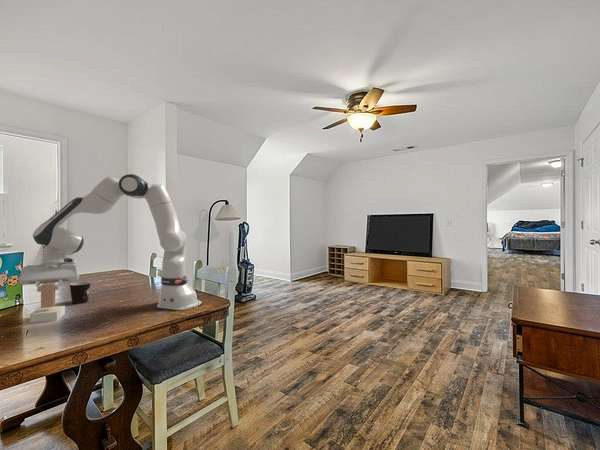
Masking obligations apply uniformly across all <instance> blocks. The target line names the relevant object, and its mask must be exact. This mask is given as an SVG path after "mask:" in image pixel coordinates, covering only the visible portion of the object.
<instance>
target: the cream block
mask: <svg viewBox="0 0 600 450" xmlns="http://www.w3.org/2000/svg"><path fill="white" fill-rule="evenodd" d="M65 314H66V305H60V306H59V305H55V306H54V307H49V308H41V307H39V308H37V309H36V310H34V311H33V312H31V313H30V314H29V324H32V323H33V324H34V323H43V322H56V321H58V320H59V319H60V318H62V317H63V316H65Z"/></svg>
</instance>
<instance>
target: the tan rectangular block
mask: <svg viewBox="0 0 600 450" xmlns="http://www.w3.org/2000/svg"><path fill="white" fill-rule="evenodd" d="M54 285H56V283H55V282H54V283H43V284H40V286H41V291H40V308H49V307H55V306H56V290H54Z"/></svg>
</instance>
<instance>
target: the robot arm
mask: <svg viewBox="0 0 600 450" xmlns="http://www.w3.org/2000/svg"><path fill="white" fill-rule="evenodd" d="M124 196H126V197H127V196H128V197H129V198H133V199H143V198H144V199H145V200H146V202H147V204H148V207H149V210H150V213H151V216H152V218H153V220H154V223H155V228H156V233H157V236H158V240H159V245H160V247H161V248H162V249H163V250H164V252H163V257H162V261H161V262H162V264H161V266H162V267H161V268H162V269H161V270H162V271H161V272H162V273H161V278H160V279H161V280H160V284H161V286H160V290H159V295H158V303H157V304H156V308H160V309H167V310H175V311H186V310H191V309H193V307H194V308H196V307H199V306H201V305H202V304H203V302H202V301H201V300H199V299H198V296H197V292H196V291H195V290H194V289H193V288H192V286H190V285H189V283H188V281H189V280H190V279H189V277H187V276H186V256H187V244H188V237H187V234H186V233H185V232H184V231H183V230H181V227H180V221H179V218H178V214H177V211H176V209H175V206H174V203H173V201H172V198H171V196H170V195H169V192H168V190H167V189H166V187H165V186H164V185H163V184H162V183H161V184H160V183H153V184H149V183H148V181H147V180H145V179H144V178H143V177H141V176H139V175H137V174H133V173H130V174H124V175H123V176H121V178H120V179H119V178H117V177H116V176H115V177H114V176H107V177H105V178H104V179H102V180H101V181H100V182H98V184H97V185H95V187H93V189H92V190H91V191H90V192H89V193H88V194H87V195H85V196H82V197H75V198H74V199H73V198H72V200H71V201H69V202H68V203H67V204H66V205H64V206H63V207H62V208H61V209H59V210H58V211H57V212H56V213H55V214H53V215H52V216H51V217H50V218H49V219H48V220H46V221H45V222H43V223H41V224H40V225H39V226H38V227H37V228H36V229H35V230H34V231H33V233H32V237H33V240H34V242H35V243H36V244H37V245H41V246H44V249H43V252H42V253H43V256H42V257H41V260H40V264H35V265H34V264H33V265H26V266H24V267H22V268H21V270H20V275H19V277H18V282H19V284H20V285H21V286H27V285H35V286H36V292H40V293H41V285H42V284H43V283H54V282H55V285H54V290H55V291H58V290H59V289H60V287H61V286H62V285H63V284H64V283H67V282H78V280H79V278H80V272H79V267H78V261H77V260H76V259H75V258H71V257H68V256H71V255H73V254H76V253H79V252H80V250H82V248H83V245H84V237H83V235H81V234H79V233H77V232H74V231H72V230H69V229H66V228H64V227H61V225H63V224H64V223H65V222H66V221H67V220H68V219H69V218H71V217H73V215H75V214H80V213H81V214H92V215H101V214H106V213H108V212H109V211H110V210H112V209H113V207H114V206H115V205H116V203H117V202H118V201H119V199H120V198H121V197H124ZM56 283H57V284H56ZM201 303H202V304H201ZM200 304H201V305H200ZM198 305H199V306H198Z"/></svg>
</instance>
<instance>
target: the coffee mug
mask: <svg viewBox="0 0 600 450" xmlns="http://www.w3.org/2000/svg"><path fill="white" fill-rule="evenodd" d="M90 289H91V281H89V280H88V281H87V280H86V281H85V280H84V281H83V280H81V281H73V282H71V283H69V291H70V296H71V304H73V305H82V304H86V303H88V302H89V295H90Z"/></svg>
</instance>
